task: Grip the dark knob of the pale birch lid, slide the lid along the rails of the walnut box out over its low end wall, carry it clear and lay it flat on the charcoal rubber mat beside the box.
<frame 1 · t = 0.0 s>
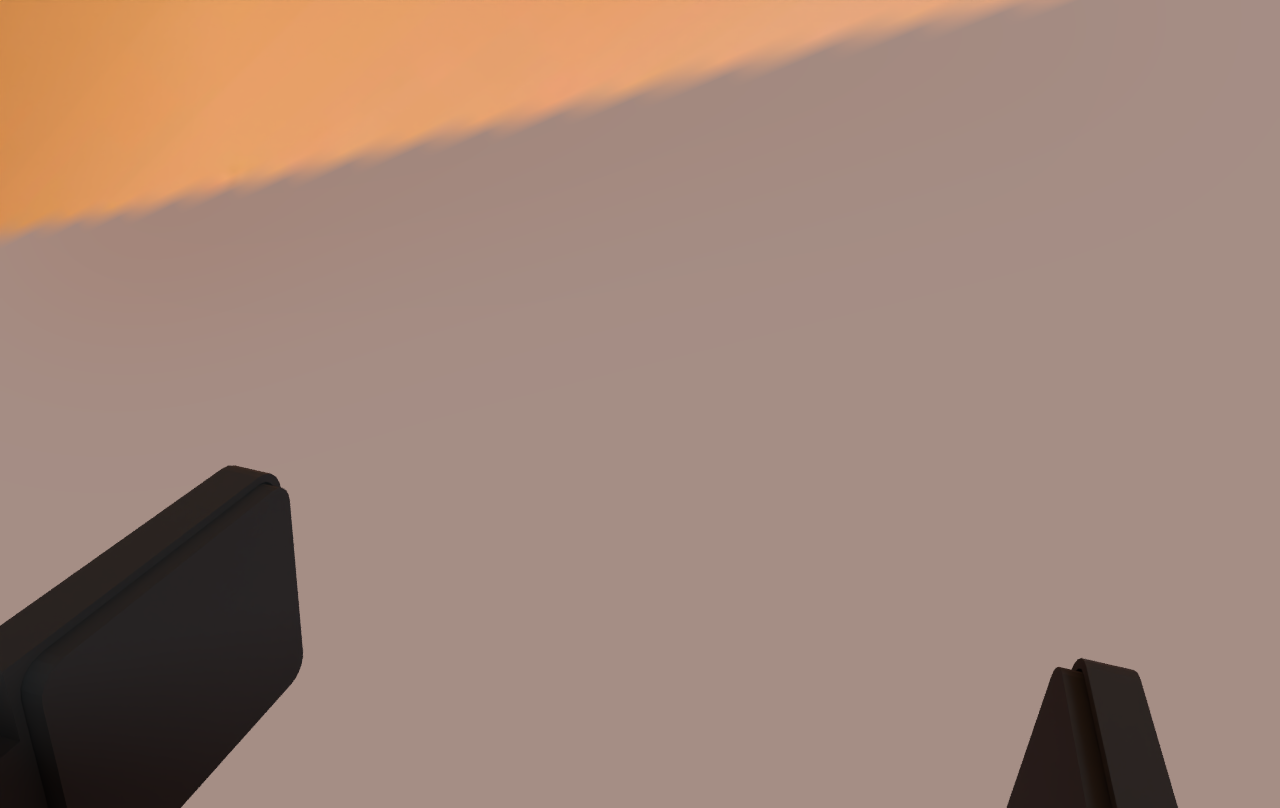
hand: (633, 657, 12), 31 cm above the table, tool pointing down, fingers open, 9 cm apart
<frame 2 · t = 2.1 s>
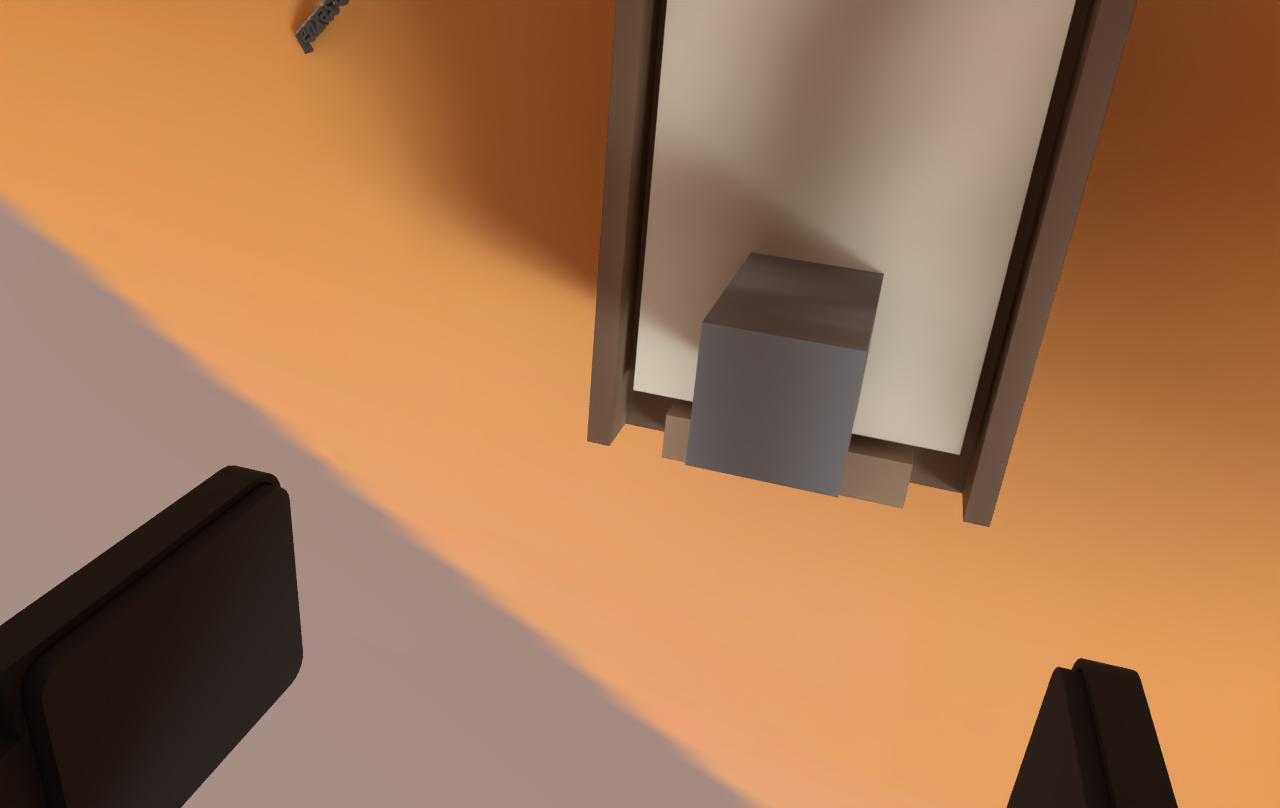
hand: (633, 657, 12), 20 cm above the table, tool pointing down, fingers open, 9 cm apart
lid: (844, 120, 21), point 7 cm above the table, touching box
box: (864, 105, 28), on the table
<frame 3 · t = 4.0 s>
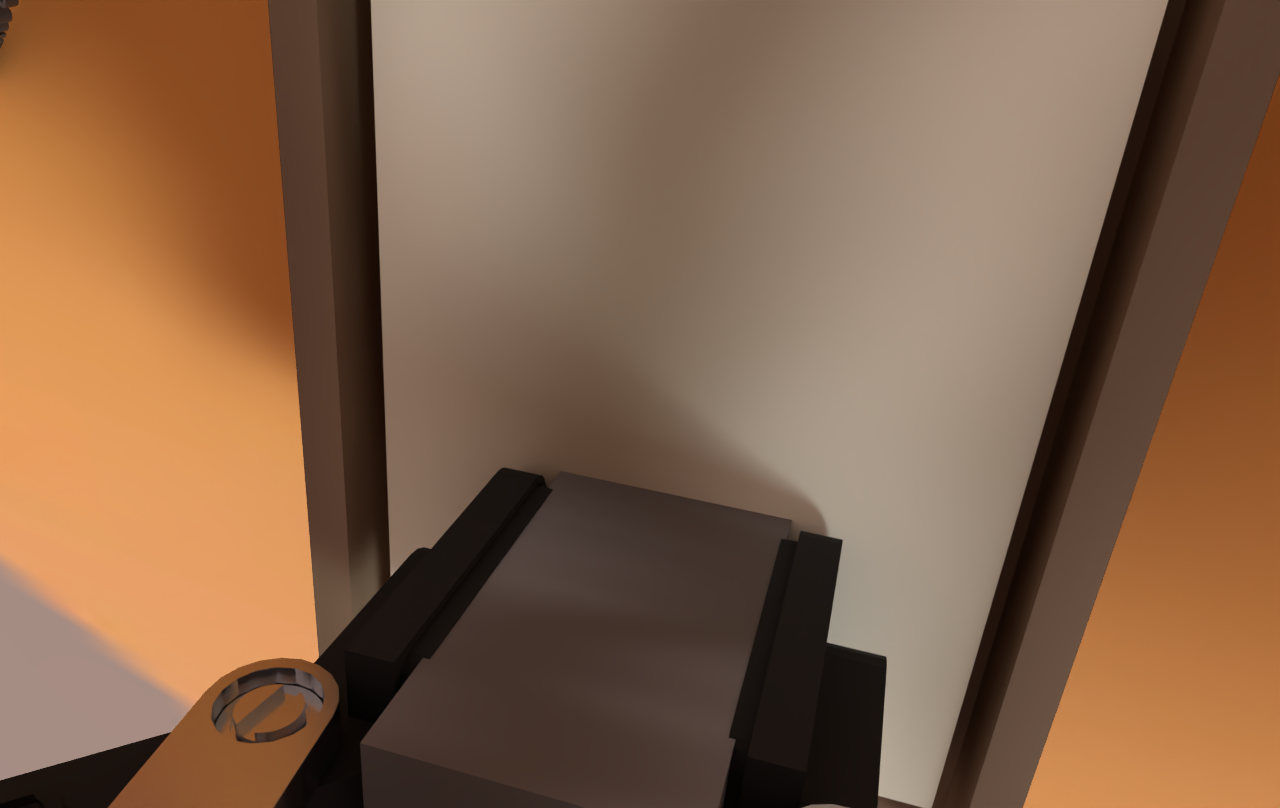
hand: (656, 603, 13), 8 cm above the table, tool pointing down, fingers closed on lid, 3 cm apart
lid: (716, 243, 12), point 7 cm above the table, touching box, gripper
box: (783, 173, 18), on the table
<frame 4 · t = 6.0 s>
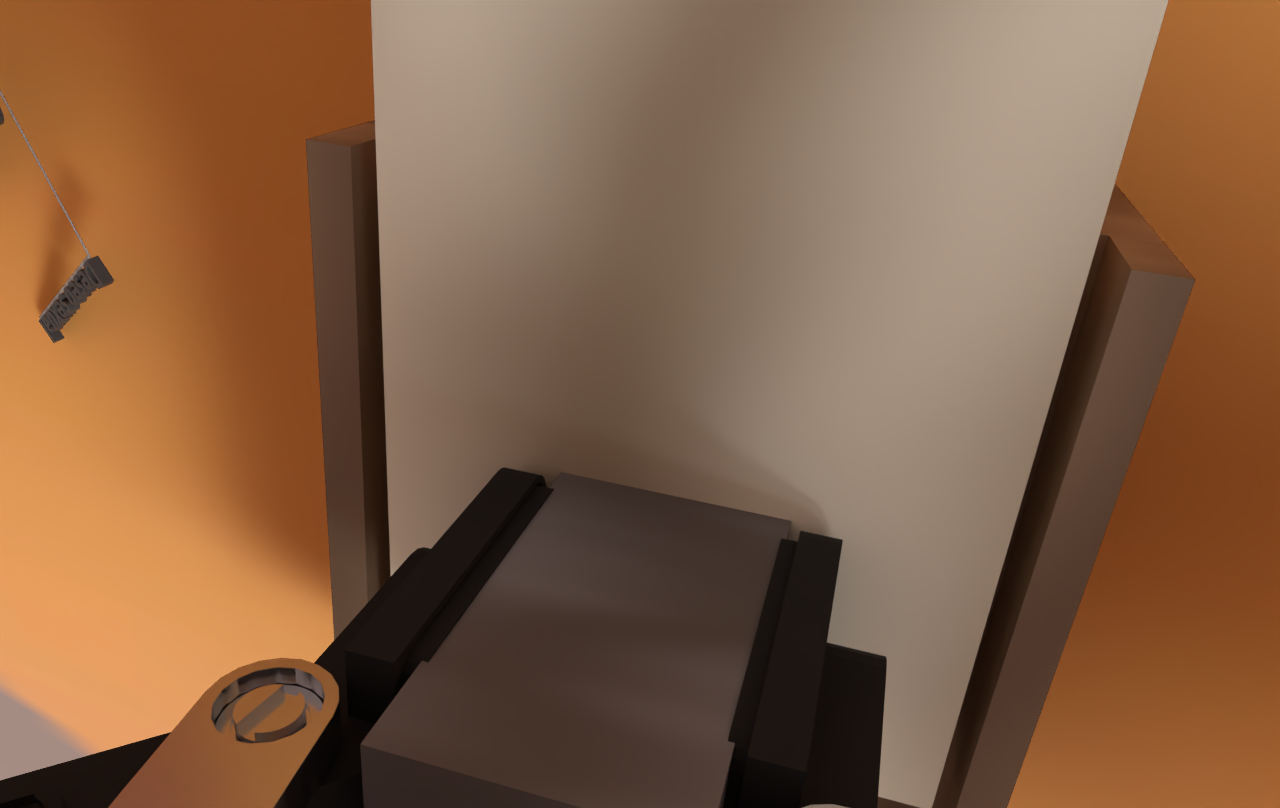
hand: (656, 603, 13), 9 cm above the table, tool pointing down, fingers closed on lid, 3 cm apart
lid: (716, 245, 12), point 7 cm above the table, touching gripper
box: (739, 480, 21), on the table
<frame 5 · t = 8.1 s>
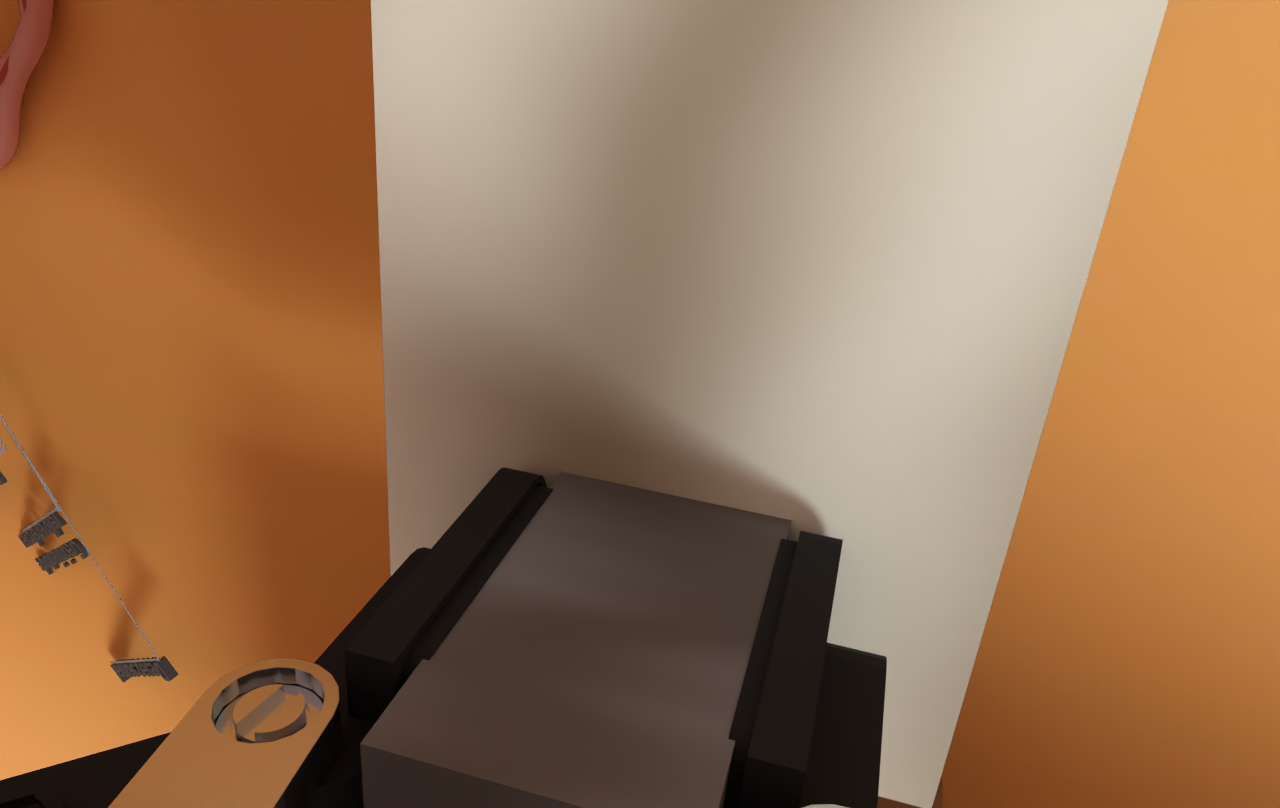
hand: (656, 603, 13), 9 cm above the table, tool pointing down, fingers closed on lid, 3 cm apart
lid: (716, 244, 12), point 7 cm above the table, touching gripper
when the fingers open (3 cm above the table, at t = 10.8 s): lid drops 2 cm, resting on mat.
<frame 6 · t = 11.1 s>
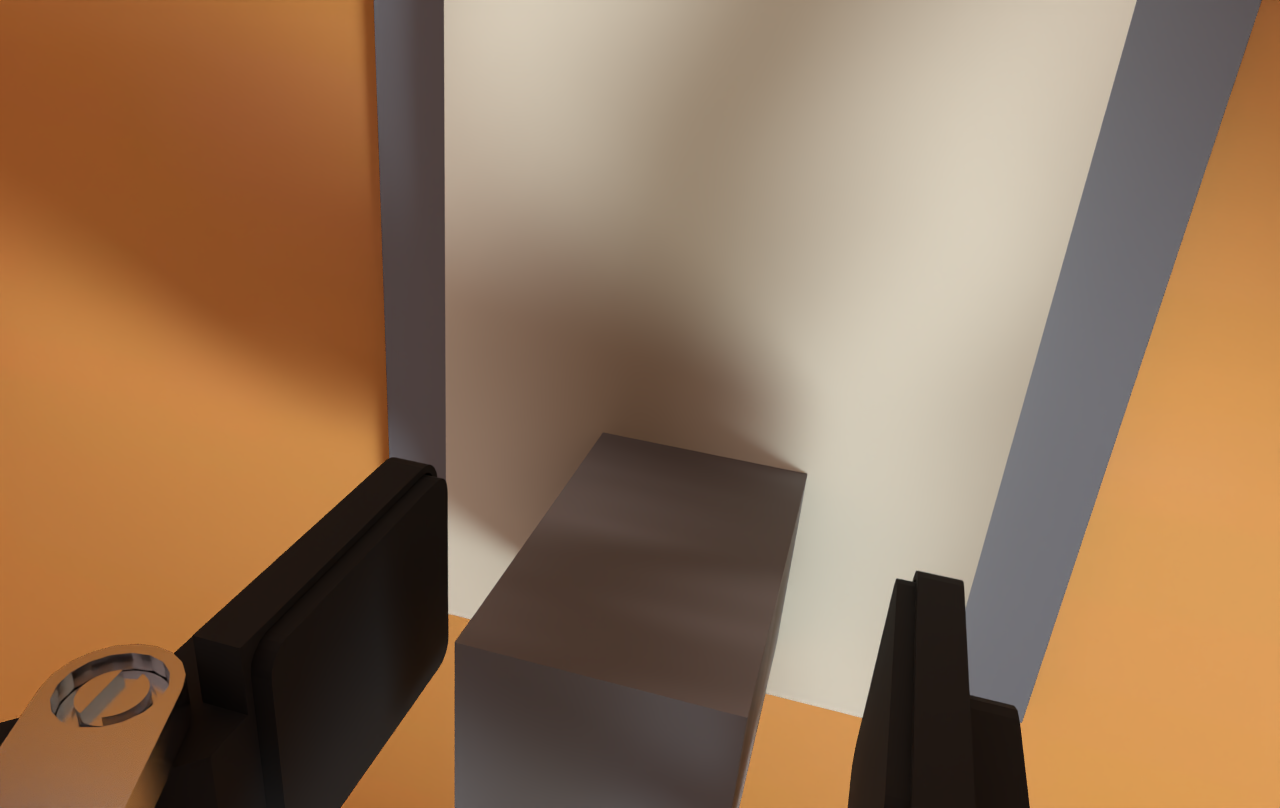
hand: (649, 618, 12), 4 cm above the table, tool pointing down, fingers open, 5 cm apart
lid: (741, 231, 13), resting on mat
mat: (745, 202, 14), on the table
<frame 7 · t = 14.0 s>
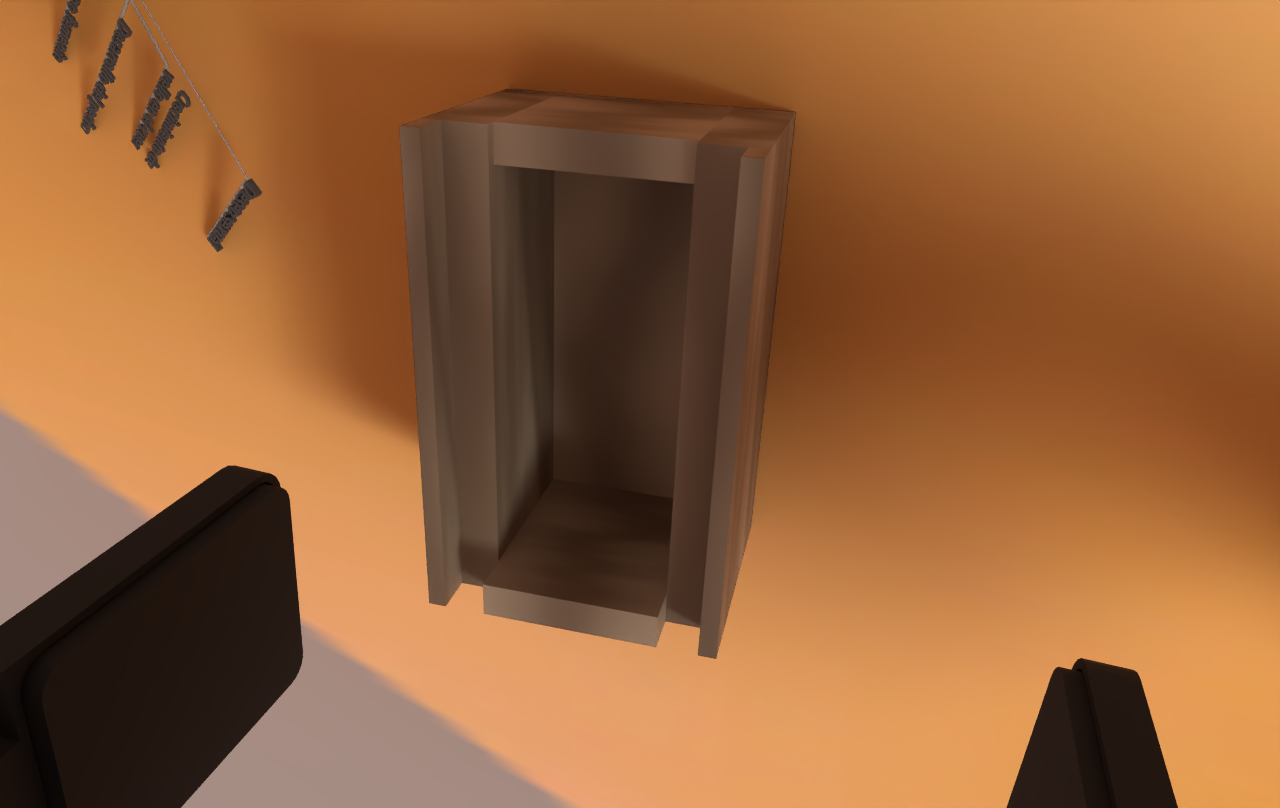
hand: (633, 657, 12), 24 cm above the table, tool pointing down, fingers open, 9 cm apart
box: (637, 322, 36), on the table
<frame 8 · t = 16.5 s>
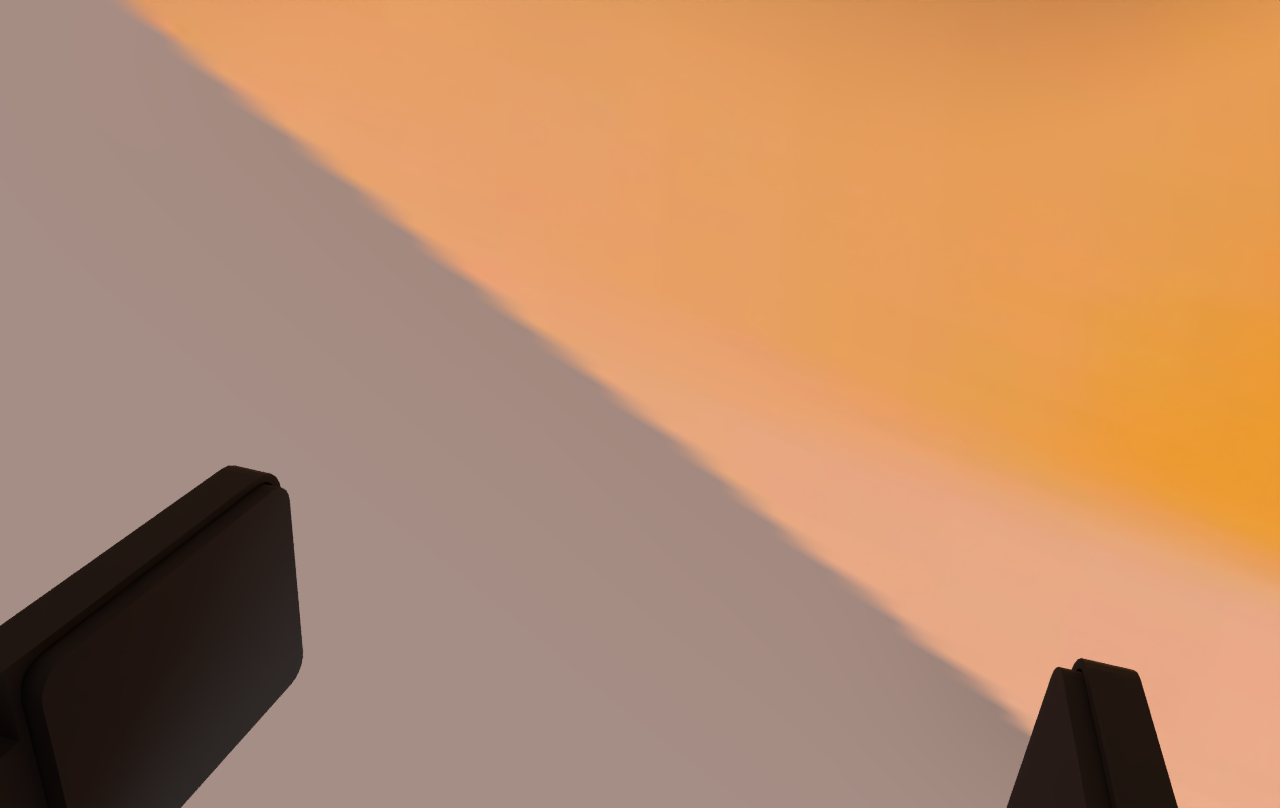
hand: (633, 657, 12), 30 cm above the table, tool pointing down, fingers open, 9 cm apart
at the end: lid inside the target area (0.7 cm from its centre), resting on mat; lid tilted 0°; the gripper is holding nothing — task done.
